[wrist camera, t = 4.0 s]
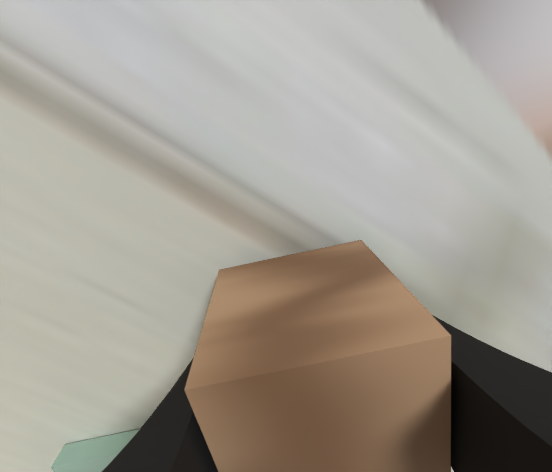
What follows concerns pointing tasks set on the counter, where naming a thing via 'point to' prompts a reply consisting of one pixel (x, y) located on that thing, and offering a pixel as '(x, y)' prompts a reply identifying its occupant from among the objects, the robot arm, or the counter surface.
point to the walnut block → (321, 368)
